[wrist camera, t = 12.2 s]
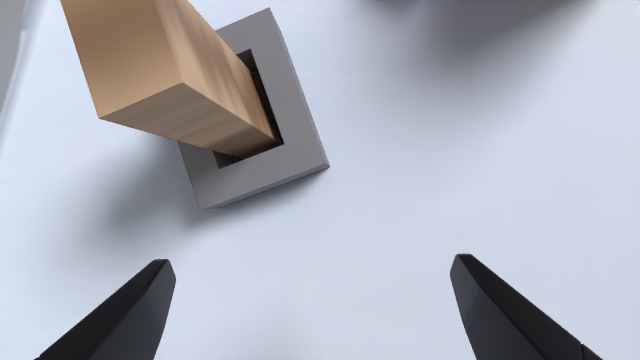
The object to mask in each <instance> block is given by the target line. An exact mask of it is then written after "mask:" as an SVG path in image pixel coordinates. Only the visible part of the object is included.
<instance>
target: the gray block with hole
mask: <svg viewBox="0 0 640 360" xmlns="http://www.w3.org/2000/svg"><path fill="white" fill-rule="evenodd" d="M215 32H216V33H217V34H218V35H219V36H220V37H221V39H222V40H223V41H224V42H225V43H226V44H227V45H228V46H229V48H230V49H231V50H232V51H233V52H234V53H235V54H236V55H237V56H238V58H239V59H240V60H241V61H242V62H243V63H244V64H245V65H246V67H247V68H248V69H249V70H250V71H251V72H253V71H256V70H258V71H259V74H260V76H261V79H262V82H263V85H264V88H265V90H266V93H267V96H268V99H269V102H270V104H271V107H272V110H273V113H274V116H275V119H276V121H277V124H278V127H279V130H280V133H281V135H282V138H283V141H284V145H281V146H278V147H276V148H273V149H271V150H268V151H265V152H263V153H260V154H258V155H255V156H252V157H250V158H247V159H245V160H242V161H240V162H237V163H233V160H232V157H231V155H228V154H224V153H220V152H217V151H213V150H210V149H206V148H202V147H199V146H195V145H192V144H188V143H185V142H181V141H178V144H179V147H180V150H181V153H182V156H183V159H184V163H185V166H186V169H187V172H188V175H189V178H190V181H191V184H192V187H193V190H194V193H195V196H196V199H197V202H198V205H199V208H200V210H205V209H213V208H221V207H223V206H226V205H229V204H231V203H234V202H237V201H240V200H242V199H245V198H248V197H250V196H253V195H256V194H258V193H261V192H264V191H266V190H269V189H272V188H275V187H277V186H280V185H283V184H285V183H288V182H291V181H293V180H296V179H299V178H301V177H304V176H307V175H309V174H312V173H315V172H318V171H320V170H323V169H326V168H328V167H330V165H329V162H328V160H327V157H326V154H325V151H324V149H323V146H322V143H321V140H320V138H319V135H318V132H317V129H316V127H315V124H314V121H313V118H312V116H311V113H310V110H309V107H308V105H307V102H306V99H305V96H304V94H303V91H302V88H301V85H300V83H299V80H298V77H297V74H296V72H295V69H294V66H293V64H292V61H291V58H290V55H289V53H288V50H287V47H286V44H285V42H284V39H283V36H282V33H281V31H280V29H279V27H278V24H277V22H276V20H275V18H274V16H273V14H272V12H271V10H270V8H267V9H264V10H262V11H260V12H257V13H255V14H253V15H250V16H248V17H246V18H243V19H241V20H239V21H237V22H234V23H232V24H230V25H227V26H225V27H223V28H220V29H218V30H216V31H215Z"/></svg>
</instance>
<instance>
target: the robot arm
mask: <svg viewBox="0 0 640 360" xmlns="http://www.w3.org/2000/svg"><path fill="white" fill-rule="evenodd" d="M450 278H451V282H452V286H453V289H454V293H455V297H456V300H457V304H458V308H459V311H460V315H461V319H462V322H463V325H464V328H465V331H466V333H467V336H468V338H469V341H470V344H471V346H472V349H473V351H474V354H475V356H476V359H477V360H603V359H602V358H600V357H599V356H598V355H596V354H595V353H594V352H593V351H591V350H590V349H589V348H588V347H586V346H585V345H584V344H581V342H580V341H579V340H578V339H576V338H575V337H574V336H573V335H571V334H570V333H569V332H568V331H566V330H565V329H564V328H563V327H561V326H560V325H559V324H558V323H556V322H555V321H554V320H553V319H551V318H550V317H549V316H548V315H546V314H545V313H544V312H543V311H541V310H540V309H539V308H538V307H536V306H535V305H534V304H533V303H531V302H530V301H529V300H528V299H526V298H525V297H524V296H523V295H521V294H520V293H519V292H518V291H516V290H515V289H514V288H513V287H511V286H510V285H509V284H508V283H506V282H505V281H504V280H503V279H501V278H500V277H499V276H498V275H496V274H495V273H494V272H493V271H491V270H490V269H489V268H488V267H486V266H485V265H484V264H483V263H481V262H480V261H479V260H478V259H476V258H475V257H474V256H473V255H471V254H457V255H456V256H455V258H454V261H453V264H452V267H451V270H450ZM175 284H176V277H175V274H174V271H173V268H172V266H171V263H170V261H169V260H168V259H156V260H153V261H152V262H151V263H149V264H148V265H147V266H146V267H145V268H143V269H142V270H141V271H140V272H139V273H137V274H136V275H135V276H134V277H133V278H131V279H130V280H129V281H128V282H127V283H125V284H124V285H123V286H122V287H121V288H119V289H118V290H117V291H116V292H115V293H113V294H112V295H111V296H110V297H109V298H107V299H106V300H105V301H104V302H103V303H102V304H100V305H99V306H98V307H97V308H96V309H94V310H93V311H92V312H91V313H90V314H88V315H87V316H86V317H85V318H84V319H82V320H81V321H80V322H79V323H78V324H76V325H75V326H74V327H73V328H72V329H70V330H69V331H68V332H67V333H66V334H64V335H63V336H62V337H61V338H60V339H58V340H57V341H56V342H55V343H54V344H52V345H51V346H50V347H49V348H48V349H46V350H45V351H44V352H43V353H42V354H41V355H40V356H39V357H37V358H36V359H34V360H153V359H154V356H155V354H156V351H157V348H158V346H159V343H160V340H161V337H162V334H163V331H164V328H165V324H166V320H167V316H168V312H169V308H170V304H171V300H172V296H173V292H174V288H175Z"/></svg>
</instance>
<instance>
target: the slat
mask: <svg viewBox="0 0 640 360" xmlns="http://www.w3.org/2000/svg"><path fill="white" fill-rule="evenodd" d="M60 1H61V4H62V7H63V10H64V13H65V16H66V19H67V22H68V25H69V29H70V32H71V35H72V38H73V41H74V44H75V47H76V50H77V53H78V56H79V59H80V63H81V66H82V69H83V72H84V75H85V78H86V81H87V84H88V87H89V90H90V93H91V97H92V100H93V103H94V106H95V109H96V112H97V115H98V118H99V119H102V120H106V121H109V122H113V123H117V124H120V125H124V126H127V127H131V128H134V129H138V130H142V131H145V132H149V133H152V134H156V135H160V136H163V137H167V138H170V139H174V140H177V141H181V142H185V143H188V144H192V145H195V146H199V147H202V148H206V149H210V150H213V151H217V152H220V153H224V154H228V155H231V156H235V157H238V158H242V159H246V158H248V157H251V156H253V155H256V154H258V153H261V152H263V151H266V150H268V149H271V148H273V147H276V146H278V145H281V144H282V142H281V140H280V137H279V134H278V131H277V129H276V126H275V123H274V121H273V118H272V115H271V112H270V110H269V107H268V104H267V101H266V99H265V96H264V93H263V91H262V88H261V85H260V82H259V80H258V79H257V78H256V77H255V76H254V74H253V73H252V72H251V71H250V70H249V69H248V68H247V67H246V65H245V64H244V63H243V62H242V61H241V60H240V59H239V58H238V56H237V55H236V54H235V53H234V52H233V51H232V50H231V49H230V48H229V46H228V45H227V44H226V43H225V42H224V41H223V40H222V39H221V37H220V36H219V35H218V34H217V33H216V32H215V31H214V30H213V28H212V27H211V26H210V25H209V24H208V23H207V22H206V21H205V19H204V18H203V17H202V16H201V15H200V14H199V13H198V12H197V11H196V9H195V8H194V7H193V6H192V5H191V4H190V3H189V2H188V0H60Z"/></svg>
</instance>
